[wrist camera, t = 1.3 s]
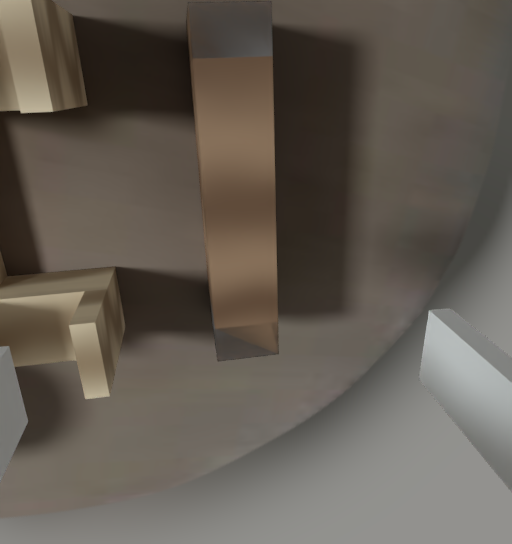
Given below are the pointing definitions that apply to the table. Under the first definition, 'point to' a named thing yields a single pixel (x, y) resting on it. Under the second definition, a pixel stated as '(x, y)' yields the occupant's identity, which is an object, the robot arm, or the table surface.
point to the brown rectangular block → (236, 170)
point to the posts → (66, 284)
